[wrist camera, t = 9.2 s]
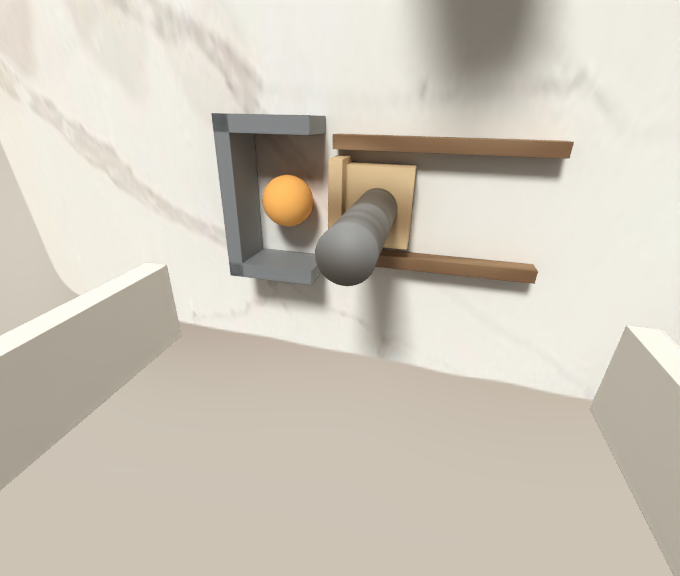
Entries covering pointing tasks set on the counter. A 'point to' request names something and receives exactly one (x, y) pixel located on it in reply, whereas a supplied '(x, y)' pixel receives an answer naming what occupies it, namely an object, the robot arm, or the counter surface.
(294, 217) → the ball
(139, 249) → the counter surface
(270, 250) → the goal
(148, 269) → the robot arm
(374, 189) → the carriage
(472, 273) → the rails
